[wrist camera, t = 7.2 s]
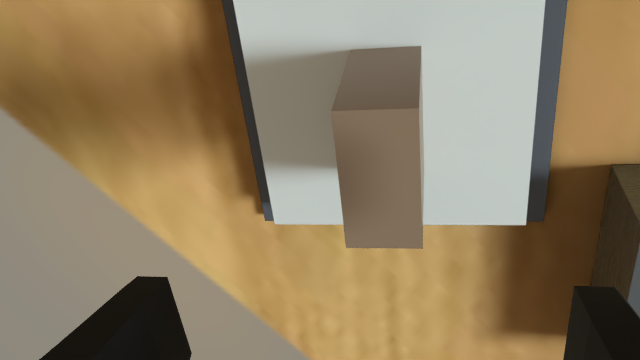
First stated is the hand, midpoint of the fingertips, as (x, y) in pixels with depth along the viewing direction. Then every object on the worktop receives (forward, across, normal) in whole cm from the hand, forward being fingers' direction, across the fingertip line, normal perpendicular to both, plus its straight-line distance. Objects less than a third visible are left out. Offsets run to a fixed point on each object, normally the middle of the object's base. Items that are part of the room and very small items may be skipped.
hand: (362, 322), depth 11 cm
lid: (+10, 0, 0) cm, 10 cm away
